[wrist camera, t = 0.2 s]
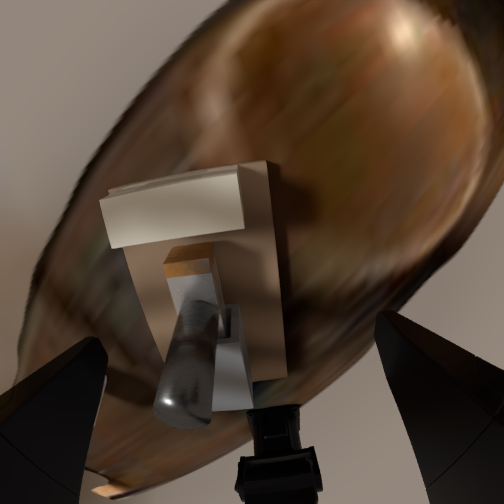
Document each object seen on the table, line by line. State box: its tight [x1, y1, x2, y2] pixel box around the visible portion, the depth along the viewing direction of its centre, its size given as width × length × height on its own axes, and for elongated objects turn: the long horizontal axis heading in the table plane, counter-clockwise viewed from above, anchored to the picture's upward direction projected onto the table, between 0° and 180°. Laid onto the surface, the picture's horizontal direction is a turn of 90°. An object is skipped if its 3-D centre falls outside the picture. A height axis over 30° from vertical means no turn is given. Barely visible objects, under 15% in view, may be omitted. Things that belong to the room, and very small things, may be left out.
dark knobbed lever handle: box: [153, 241, 231, 430], centre depth 18 cm, size 15×3×11 cm, turn 7°
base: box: [99, 160, 287, 411], centre depth 21 cm, size 21×12×6 cm, turn 7°
